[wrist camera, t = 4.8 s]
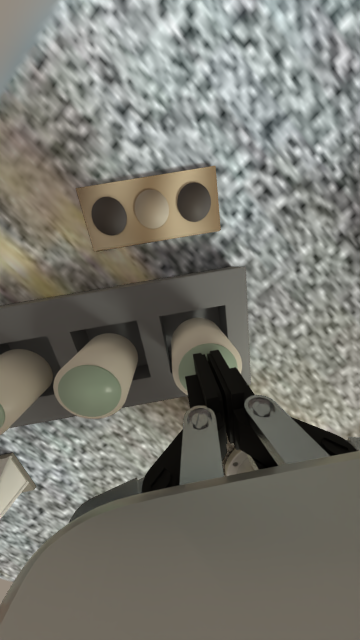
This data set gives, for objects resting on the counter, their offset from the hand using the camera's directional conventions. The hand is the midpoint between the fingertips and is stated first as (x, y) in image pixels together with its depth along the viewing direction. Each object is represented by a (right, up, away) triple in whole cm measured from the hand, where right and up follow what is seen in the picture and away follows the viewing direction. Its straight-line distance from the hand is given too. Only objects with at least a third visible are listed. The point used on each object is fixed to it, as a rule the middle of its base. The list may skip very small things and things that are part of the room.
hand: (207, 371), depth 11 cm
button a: (0, +1, +5) cm, 5 cm away
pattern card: (-4, +13, +5) cm, 15 cm away
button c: (-16, -2, +5) cm, 17 cm away
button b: (-8, 0, +5) cm, 9 cm away
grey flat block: (-8, +1, +8) cm, 12 cm away
